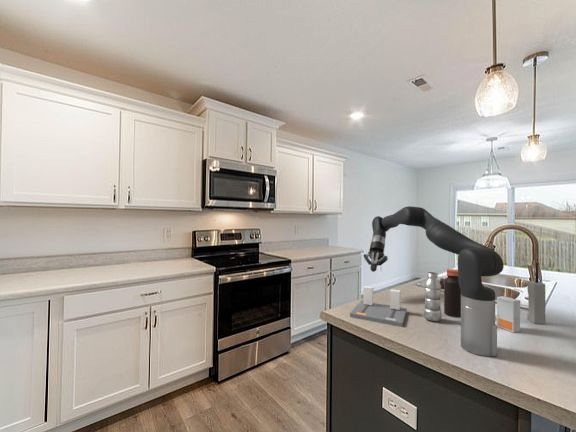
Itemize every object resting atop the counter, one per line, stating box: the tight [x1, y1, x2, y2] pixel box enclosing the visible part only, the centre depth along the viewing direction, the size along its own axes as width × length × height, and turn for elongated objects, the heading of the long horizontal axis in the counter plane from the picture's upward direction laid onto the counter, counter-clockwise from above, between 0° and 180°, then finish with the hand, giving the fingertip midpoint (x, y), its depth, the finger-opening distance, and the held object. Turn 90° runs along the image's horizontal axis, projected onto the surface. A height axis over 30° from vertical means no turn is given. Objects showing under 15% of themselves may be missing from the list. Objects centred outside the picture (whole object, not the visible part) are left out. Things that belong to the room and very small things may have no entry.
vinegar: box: [443, 268, 461, 318], centre depth 117 cm, size 7×7×20 cm
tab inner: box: [389, 288, 401, 310], centre depth 120 cm, size 4×3×8 cm
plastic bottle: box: [423, 271, 443, 322], centre depth 111 cm, size 6×7×20 cm
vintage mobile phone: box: [526, 262, 546, 326], centre depth 110 cm, size 4×5×25 cm
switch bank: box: [349, 300, 408, 328], centre depth 117 cm, size 21×20×2 cm
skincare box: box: [496, 295, 521, 334], centre depth 103 cm, size 6×4×12 cm
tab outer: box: [362, 285, 374, 305], centre depth 126 cm, size 4×3×8 cm
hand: (373, 270), depth 135 cm, fingers closed
